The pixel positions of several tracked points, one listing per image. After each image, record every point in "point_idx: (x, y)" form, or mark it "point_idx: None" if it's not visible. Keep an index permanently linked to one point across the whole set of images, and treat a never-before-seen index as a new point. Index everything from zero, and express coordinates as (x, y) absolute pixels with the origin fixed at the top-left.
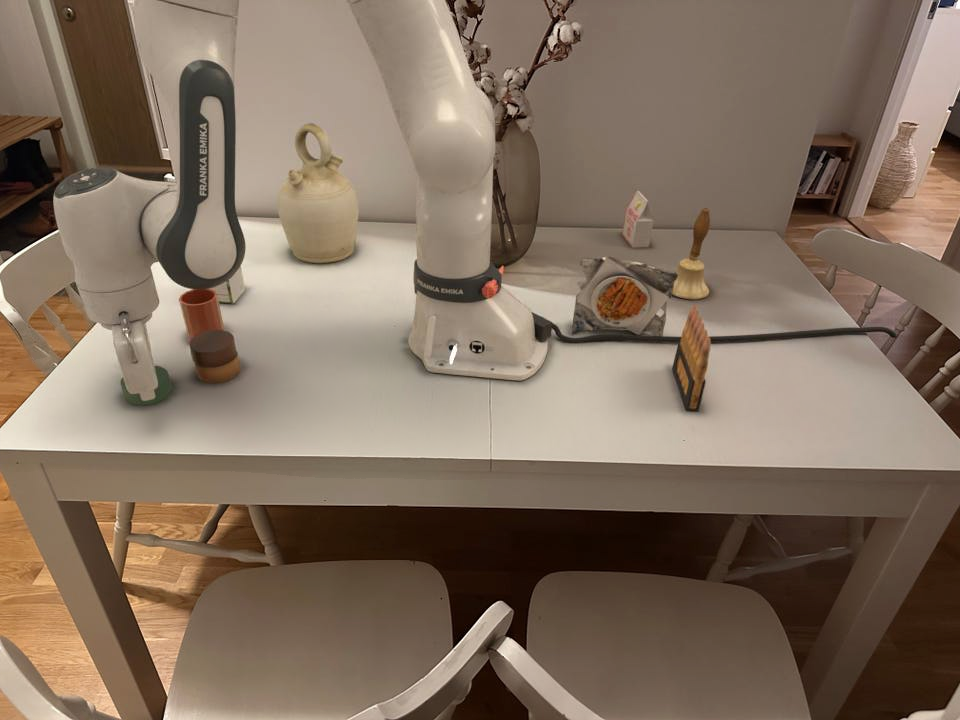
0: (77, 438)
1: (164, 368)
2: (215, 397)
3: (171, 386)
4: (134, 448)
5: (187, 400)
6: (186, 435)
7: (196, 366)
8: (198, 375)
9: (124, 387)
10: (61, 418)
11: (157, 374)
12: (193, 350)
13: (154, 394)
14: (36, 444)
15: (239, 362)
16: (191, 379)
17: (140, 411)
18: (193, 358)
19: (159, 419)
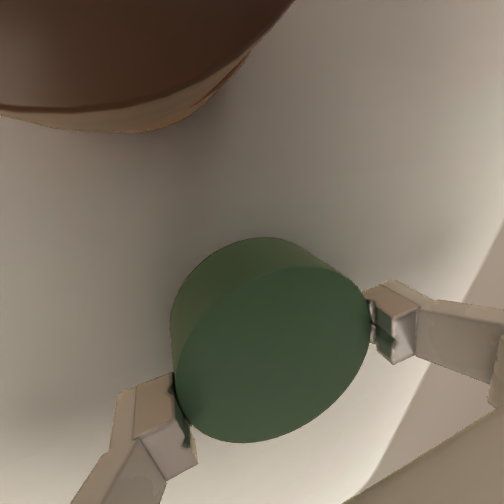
0: (393, 399)
1: (220, 301)
2: (355, 28)
3: (249, 242)
4: (474, 274)
5: (338, 163)
6: (496, 147)
7: (203, 101)
8: (188, 114)
9: (330, 403)
10: (315, 463)
11: (273, 318)
12: (257, 42)
13: (404, 285)
14: (381, 454)
15: None
16: (183, 160)
17: None
18: (186, 105)
19: (401, 242)
